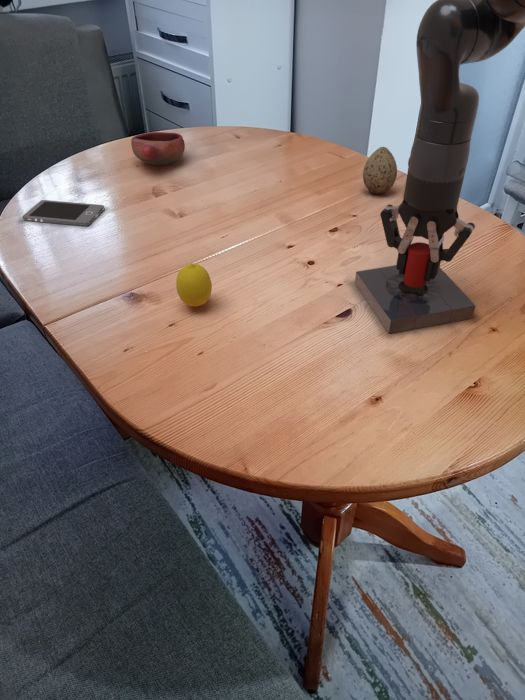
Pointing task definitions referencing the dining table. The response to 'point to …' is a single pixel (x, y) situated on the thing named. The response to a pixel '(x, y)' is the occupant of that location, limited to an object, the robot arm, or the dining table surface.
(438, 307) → the grey square base
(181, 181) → the dining table surface
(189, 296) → the lemon
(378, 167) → the decorative egg
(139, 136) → the bowl
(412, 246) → the stopper
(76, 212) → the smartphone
